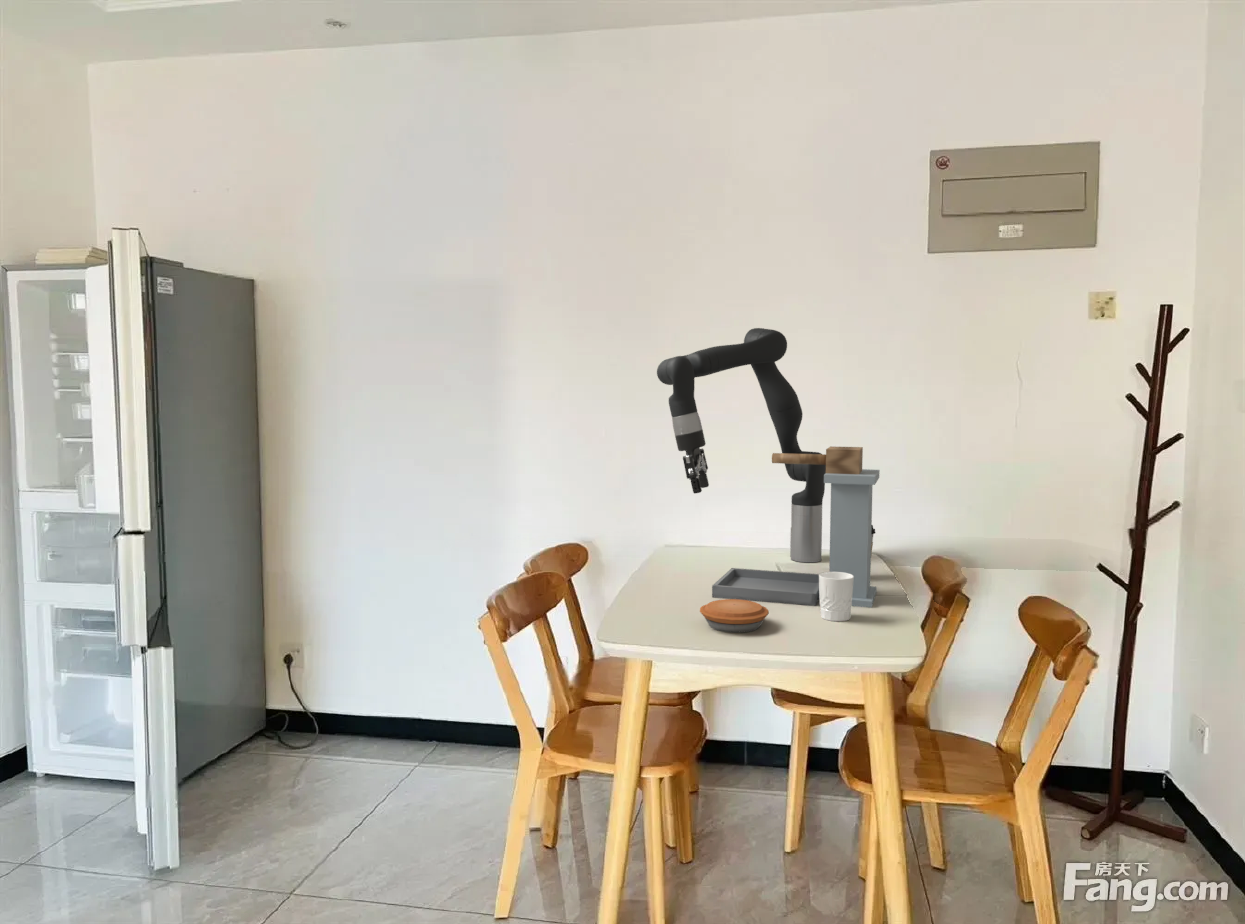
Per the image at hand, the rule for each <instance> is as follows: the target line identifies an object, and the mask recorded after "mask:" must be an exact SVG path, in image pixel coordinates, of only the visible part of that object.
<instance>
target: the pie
mask: <svg viewBox="0 0 1245 924" xmlns="http://www.w3.org/2000/svg"><path fill="white" fill-rule="evenodd" d="M769 611H770V610H769V609H768V608H767V607H766V606H763V605H761V603H759V602H757V601H750V600H739V599H727V598H723V599H718V600H713V601H710V602H709V603H707V604H704V605H701V606H700V608H699V612H700V614H701V615H702V617H704V619H705V621H706V622H707V624H708V626H709V627H710V628H712V629H713V630H716V631H720V632H724V633H747V632H753V631H756V630H758V629H759V628H760V627H761V625H762V623H763V622H764V620H765V619H766V618H767V616H768V615H769V613H770V612H769Z"/></svg>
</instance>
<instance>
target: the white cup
mask: <svg viewBox="0 0 1245 924" xmlns="http://www.w3.org/2000/svg"><path fill="white" fill-rule="evenodd" d="M818 574H819V598H820V599H819V607H820V609H819V610H820V612H819V613H820V617H821V619H823V620H826V621H831V622H846V621H848V620H850V619H851V617H852V616H851V615H852V613H851V612H852V607H853V606H852V596H853V581H854V576H853V575H851V574H848V573H843V572H829V571H825V572H821V573H818Z"/></svg>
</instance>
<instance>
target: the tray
mask: <svg viewBox="0 0 1245 924" xmlns="http://www.w3.org/2000/svg"><path fill="white" fill-rule="evenodd" d="M819 574H820V573H811V572H810V573H809V572H808V573H806V572H795V571H780V570H779V571H778V570H766V569H764V570H763V569H752V568H739V567H731V568H730V569H729V570H728V571H727V572H725V573H724V574H723V575H722V576H721V577H720V578H719V579H718V580H717V581H715V583H714V584H712V585H711V597H712V598H715V599H716V598H718V599H739V600H748V601H752V602H762V603H763V602H765V603H774V604H786V605H787V604H788V605H799V606H800V605H801V606H813V607H816V606H817V604H818V603H819V602H820V598H819Z"/></svg>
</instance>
